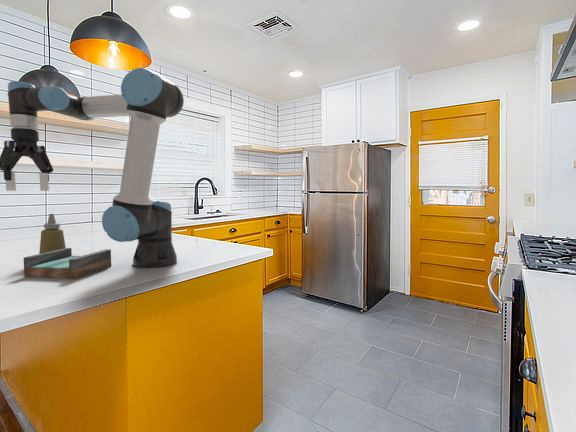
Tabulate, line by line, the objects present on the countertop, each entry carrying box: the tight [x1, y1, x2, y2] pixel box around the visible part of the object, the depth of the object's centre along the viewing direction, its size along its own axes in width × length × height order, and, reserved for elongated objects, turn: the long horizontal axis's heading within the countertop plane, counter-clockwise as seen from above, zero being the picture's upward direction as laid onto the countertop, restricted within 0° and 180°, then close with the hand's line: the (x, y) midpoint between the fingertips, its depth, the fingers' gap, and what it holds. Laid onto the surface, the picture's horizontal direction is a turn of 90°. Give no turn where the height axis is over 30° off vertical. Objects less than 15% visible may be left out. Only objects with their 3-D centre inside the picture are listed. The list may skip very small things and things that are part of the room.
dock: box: [23, 247, 112, 280], centre depth 108 cm, size 17×17×6 cm
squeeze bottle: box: [38, 213, 67, 254], centre depth 119 cm, size 8×8×18 cm
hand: (28, 190), depth 115 cm, fingers open, 13 cm apart
